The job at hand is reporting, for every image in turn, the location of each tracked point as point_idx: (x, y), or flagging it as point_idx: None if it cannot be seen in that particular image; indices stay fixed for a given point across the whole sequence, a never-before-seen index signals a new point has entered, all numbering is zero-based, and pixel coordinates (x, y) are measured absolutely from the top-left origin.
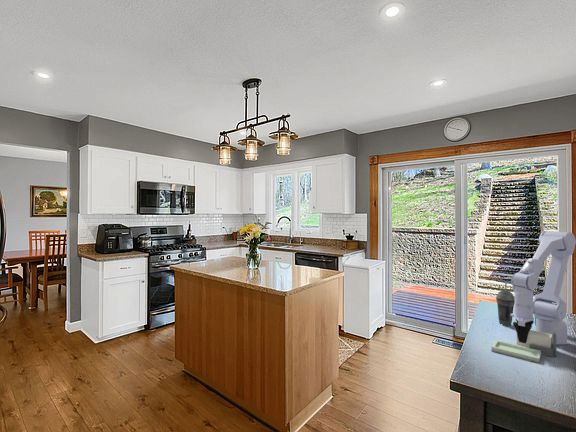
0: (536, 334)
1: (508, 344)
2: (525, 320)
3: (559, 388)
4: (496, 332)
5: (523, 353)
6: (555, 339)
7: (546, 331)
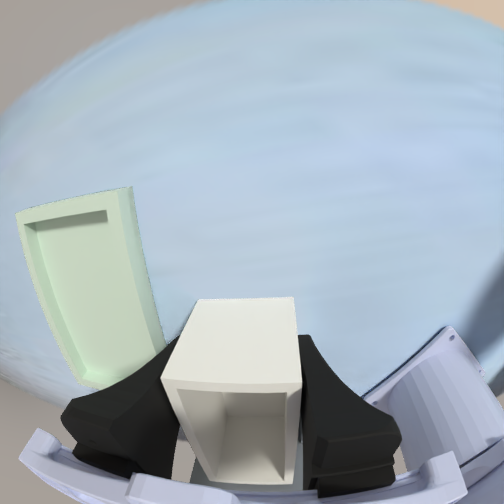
0: (285, 438)
1: (122, 273)
2: (71, 497)
3: (17, 378)
4: (427, 135)
5: (101, 336)
6: None
7: (406, 438)
